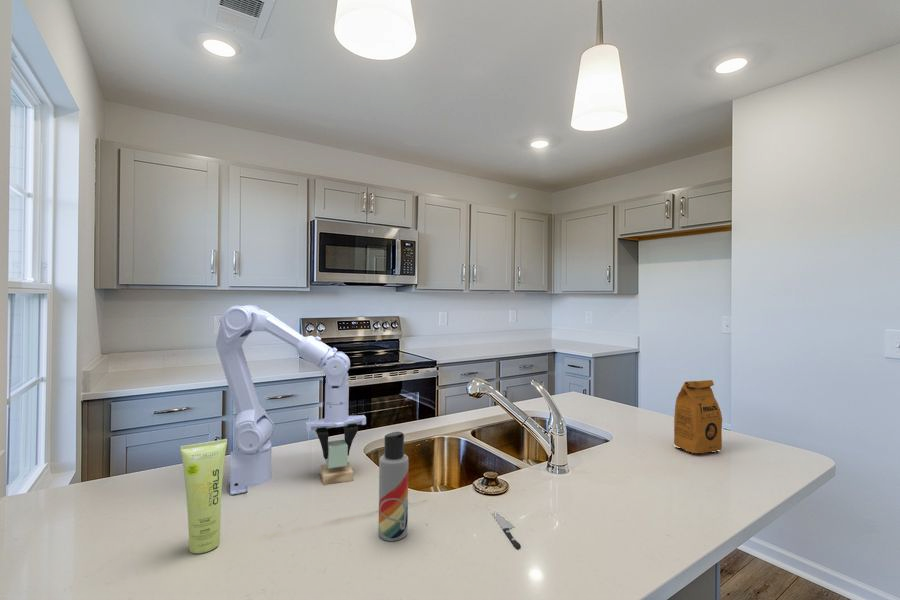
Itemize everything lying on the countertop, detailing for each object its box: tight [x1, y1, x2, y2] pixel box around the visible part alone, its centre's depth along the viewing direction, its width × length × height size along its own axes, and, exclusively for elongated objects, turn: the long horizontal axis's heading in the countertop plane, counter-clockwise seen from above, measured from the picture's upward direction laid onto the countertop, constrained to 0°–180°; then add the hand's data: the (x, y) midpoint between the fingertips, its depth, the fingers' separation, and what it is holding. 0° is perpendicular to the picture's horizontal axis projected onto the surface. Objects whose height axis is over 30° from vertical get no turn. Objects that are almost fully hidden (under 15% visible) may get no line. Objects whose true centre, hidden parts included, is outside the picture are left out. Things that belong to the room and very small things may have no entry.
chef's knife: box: [491, 511, 521, 550], centre depth 90 cm, size 19×1×3 cm
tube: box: [179, 438, 228, 554], centre depth 79 cm, size 6×5×20 cm
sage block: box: [324, 439, 349, 468], centre depth 107 cm, size 4×4×5 cm
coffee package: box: [673, 379, 723, 454], centre depth 134 cm, size 10×12×22 cm
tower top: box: [319, 461, 354, 486], centre depth 107 cm, size 7×7×2 cm
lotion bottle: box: [378, 431, 409, 542], centre depth 85 cm, size 6×6×20 cm
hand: (336, 456), depth 107 cm, fingers closed on sage block, 4 cm apart
